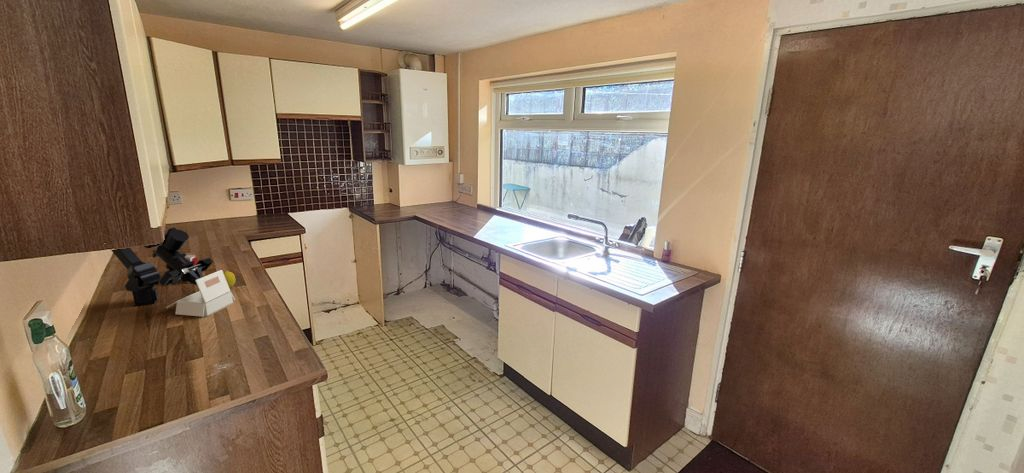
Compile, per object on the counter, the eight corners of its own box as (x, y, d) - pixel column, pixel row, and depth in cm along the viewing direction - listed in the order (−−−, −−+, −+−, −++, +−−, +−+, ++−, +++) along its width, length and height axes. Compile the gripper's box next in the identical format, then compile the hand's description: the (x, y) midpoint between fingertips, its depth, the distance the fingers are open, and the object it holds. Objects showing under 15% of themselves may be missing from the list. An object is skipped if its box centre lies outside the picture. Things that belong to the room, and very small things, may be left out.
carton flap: (204, 302, 152) (195, 280, 150) (229, 291, 163) (220, 269, 161) (205, 302, 152) (196, 279, 150) (230, 290, 163) (222, 269, 161)
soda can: (203, 280, 187) (199, 255, 184) (190, 284, 183) (186, 258, 180) (196, 278, 190) (192, 253, 187) (184, 282, 185) (179, 256, 182)
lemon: (229, 291, 176) (226, 273, 174) (218, 290, 177) (215, 272, 175) (239, 286, 181) (237, 269, 179) (229, 285, 182) (226, 268, 180)
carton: (162, 314, 153) (159, 302, 152) (197, 298, 168) (195, 286, 167) (203, 318, 151) (201, 305, 150) (236, 301, 166) (234, 289, 165)
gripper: (184, 263, 167) (213, 291, 168) (138, 279, 149) (171, 310, 150) (198, 245, 164) (228, 273, 165) (153, 259, 146) (186, 291, 147)
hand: (204, 287), depth 157 cm, fingers closed
